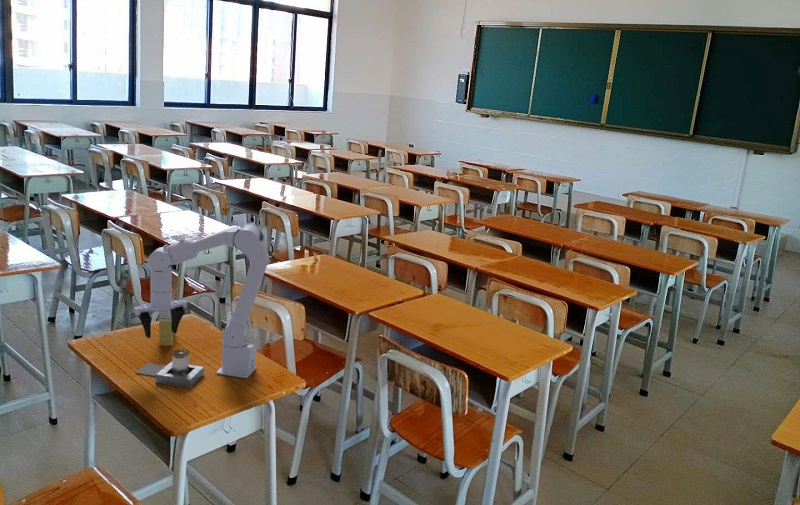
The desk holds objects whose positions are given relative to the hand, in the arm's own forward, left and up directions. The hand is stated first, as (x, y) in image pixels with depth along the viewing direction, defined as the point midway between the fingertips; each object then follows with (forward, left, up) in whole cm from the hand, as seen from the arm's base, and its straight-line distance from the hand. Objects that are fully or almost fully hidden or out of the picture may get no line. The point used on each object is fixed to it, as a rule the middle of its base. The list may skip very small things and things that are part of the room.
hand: (161, 334), depth 190 cm
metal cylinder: (-9, +6, -10) cm, 15 cm away
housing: (-9, +6, -10) cm, 14 cm away
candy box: (+7, -18, -10) cm, 22 cm away
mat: (+1, +3, -10) cm, 11 cm away
